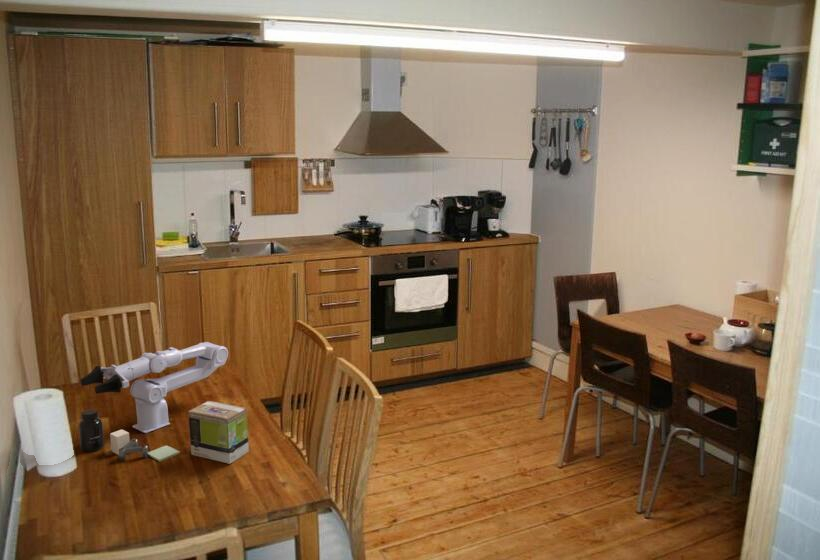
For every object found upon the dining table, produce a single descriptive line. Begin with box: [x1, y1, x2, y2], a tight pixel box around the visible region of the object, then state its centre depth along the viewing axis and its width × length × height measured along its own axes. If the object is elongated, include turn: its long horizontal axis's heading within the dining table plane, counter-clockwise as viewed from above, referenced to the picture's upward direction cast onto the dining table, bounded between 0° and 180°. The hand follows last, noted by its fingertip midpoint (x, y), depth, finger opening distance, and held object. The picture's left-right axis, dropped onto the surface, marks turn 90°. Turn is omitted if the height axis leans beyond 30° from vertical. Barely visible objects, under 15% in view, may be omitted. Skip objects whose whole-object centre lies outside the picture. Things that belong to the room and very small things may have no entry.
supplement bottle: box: [78, 408, 105, 453], centre depth 232 cm, size 7×7×12 cm
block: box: [109, 429, 131, 456], centre depth 231 cm, size 4×4×6 cm
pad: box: [148, 445, 181, 462], centre depth 229 cm, size 7×7×1 cm
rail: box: [118, 438, 150, 462], centre depth 227 cm, size 8×8×4 cm
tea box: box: [188, 400, 250, 465], centre depth 229 cm, size 15×10×15 cm
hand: (88, 386), depth 228 cm, fingers open, 7 cm apart
